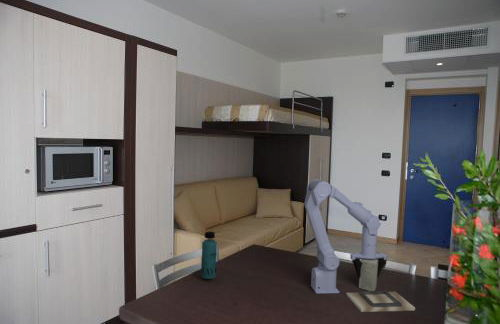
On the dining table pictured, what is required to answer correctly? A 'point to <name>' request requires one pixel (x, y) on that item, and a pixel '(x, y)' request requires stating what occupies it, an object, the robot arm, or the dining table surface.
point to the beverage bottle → (209, 256)
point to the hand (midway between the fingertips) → (367, 276)
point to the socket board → (379, 301)
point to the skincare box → (368, 274)
